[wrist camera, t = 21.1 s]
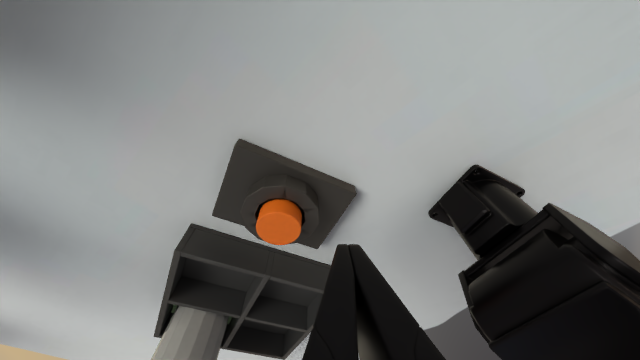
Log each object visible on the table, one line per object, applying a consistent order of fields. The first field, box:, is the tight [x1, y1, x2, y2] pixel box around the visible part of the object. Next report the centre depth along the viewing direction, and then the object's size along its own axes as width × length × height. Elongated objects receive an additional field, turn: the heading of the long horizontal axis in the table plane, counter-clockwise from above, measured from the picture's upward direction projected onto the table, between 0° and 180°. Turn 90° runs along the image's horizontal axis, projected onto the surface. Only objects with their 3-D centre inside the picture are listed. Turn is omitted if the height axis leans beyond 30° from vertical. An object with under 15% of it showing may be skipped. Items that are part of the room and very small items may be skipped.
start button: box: [256, 199, 302, 245], centre depth 20 cm, size 4×4×2 cm
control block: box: [212, 139, 357, 249], centre depth 21 cm, size 11×8×3 cm
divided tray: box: [154, 224, 331, 360], centre depth 29 cm, size 18×18×4 cm
